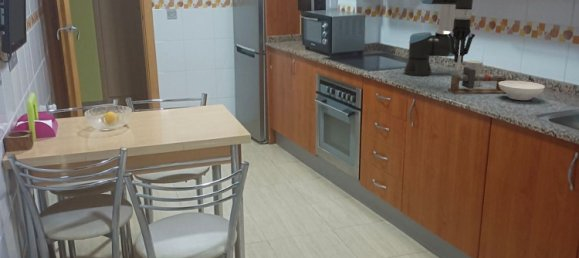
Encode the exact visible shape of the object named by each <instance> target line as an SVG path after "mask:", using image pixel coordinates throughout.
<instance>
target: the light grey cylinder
mask: <svg viewBox="0 0 579 258" xmlns="http://www.w3.org/2000/svg"><path fill="white" fill-rule="evenodd" d="M464 67H470V68H472V69H475V70H476V71H475V75H482V71H483V61H480V60H479V61H478V60H466V61H465V65H464ZM475 87H476V88H477V87H481V81H474V88H475Z"/></svg>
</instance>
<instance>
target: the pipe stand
mask: <svg viewBox="0 0 579 258" xmlns="http://www.w3.org/2000/svg"><path fill="white" fill-rule="evenodd" d="M468 76H469V75H463V74H454V75H451V79H450V88H448V89H447V91H448V92H449V93H452V94H454V95H482V94H483V95H500V94H501V95H505V94H506V92H505V91H502V90H501V89H500V87H499V84H498V83H499V82H501V81H507V77H505V76H504V75H503V74H489V73H487V74H485V73H484V74H481V75H475V80H474V81H480V82H496V83H495V84H496V85H495V88H494V87H492V88H489V87H488V88H483V87H482V88H477V87H476V88H475V87H474V89H468V88H466V87H462V88H460V82H462V81H468ZM506 95H507V94H506Z"/></svg>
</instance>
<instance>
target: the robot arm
mask: <svg viewBox="0 0 579 258" xmlns="http://www.w3.org/2000/svg"><path fill="white" fill-rule="evenodd" d="M420 1H421V4H424V5H440V12H439V13H440V14H439V20H438V21H439V23H438V28H437V30H436V31H435V34H432V32H431V31H428V32H426V31H425V32H416V33H412V34H411V35H410V36H409V42H408V44H409V45H408V55H407V57H408V58H407V62H406V65H405V67H404V68H403V70H404V71H403V73H404V74H405V75H407V76H415V77H428V76H431V75H432V67H431V64H430V57H444V58H447V57H448V58H449V57H454V58H453V62H454V64H455V65H454V70H458V71H459V70H460V71H461V65H462V63H463V61H464V56H465V55H468V53H469V51H470V48H471V44H472V42H473V39H474V38H475V36H476V34H474V33H473V32H471V23H472V20H471V18H472V12H473V2H474V0H420Z"/></svg>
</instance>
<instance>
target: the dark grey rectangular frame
mask: <svg viewBox="0 0 579 258" xmlns="http://www.w3.org/2000/svg"><path fill="white" fill-rule="evenodd" d="M475 71H476V70H475V69H472V68H470V67H465V66H464V67H463V72H462V75H469V76H468V81H461V82H462V84H461V86H462V87H463V88H468V89H474V88H475V87H474V80H475Z"/></svg>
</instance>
